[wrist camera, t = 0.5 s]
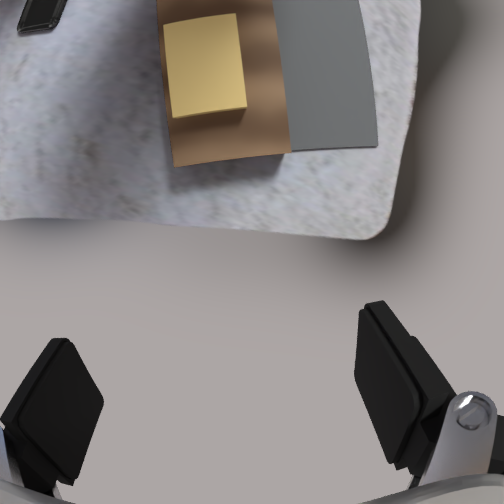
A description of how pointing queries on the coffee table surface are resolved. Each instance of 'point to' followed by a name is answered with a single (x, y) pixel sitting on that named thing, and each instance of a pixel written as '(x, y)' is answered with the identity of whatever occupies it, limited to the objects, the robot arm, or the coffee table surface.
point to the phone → (40, 15)
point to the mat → (326, 74)
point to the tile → (204, 66)
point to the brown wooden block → (256, 87)
